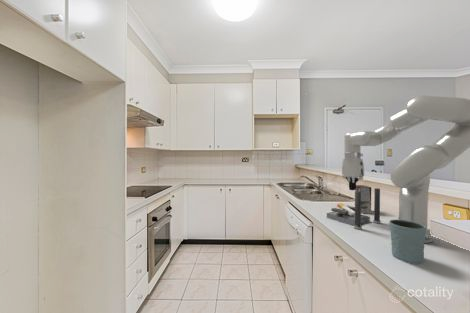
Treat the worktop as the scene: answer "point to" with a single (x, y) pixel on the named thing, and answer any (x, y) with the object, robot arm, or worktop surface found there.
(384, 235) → the worktop surface
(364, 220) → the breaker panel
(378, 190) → the dark grey post
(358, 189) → the coffee box
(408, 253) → the teal green cup
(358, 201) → the dark grey rod
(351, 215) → the block
